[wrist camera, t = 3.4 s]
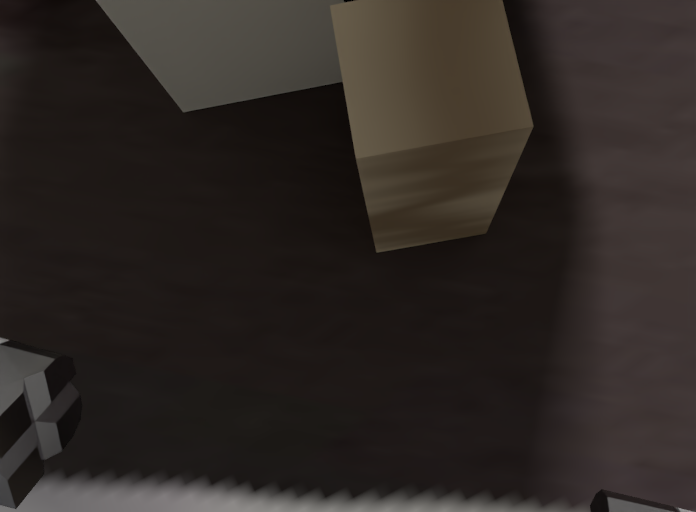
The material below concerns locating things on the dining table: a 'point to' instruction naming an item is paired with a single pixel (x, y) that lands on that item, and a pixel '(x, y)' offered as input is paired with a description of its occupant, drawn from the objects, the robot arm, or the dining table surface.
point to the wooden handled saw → (431, 114)
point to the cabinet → (230, 46)
